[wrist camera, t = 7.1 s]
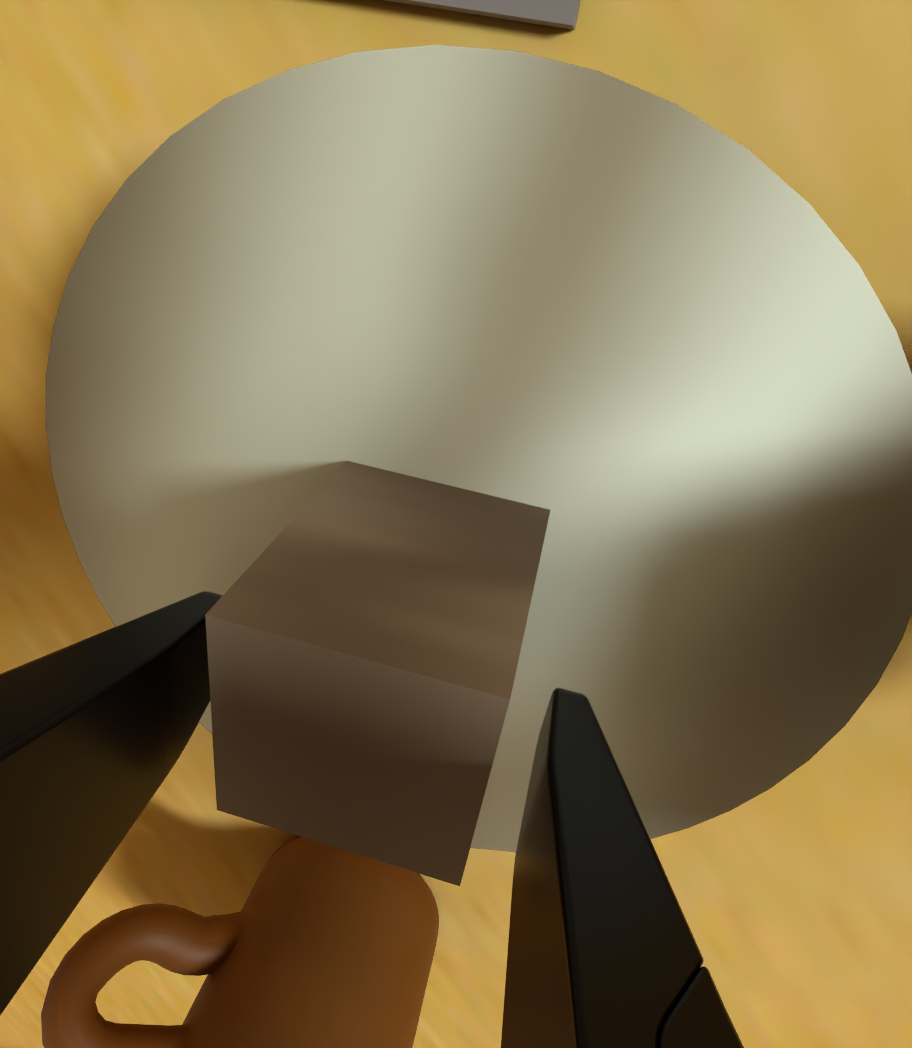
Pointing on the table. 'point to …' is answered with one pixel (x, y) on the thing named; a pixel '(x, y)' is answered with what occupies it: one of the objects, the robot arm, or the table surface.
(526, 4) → the mat
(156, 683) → the robot arm
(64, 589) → the table surface
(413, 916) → the mug
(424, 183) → the lid
